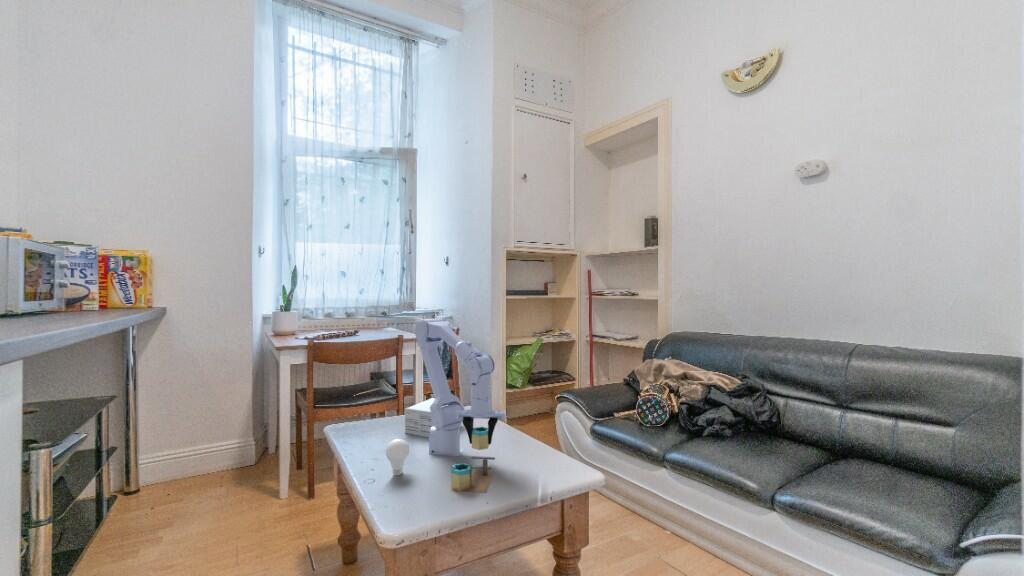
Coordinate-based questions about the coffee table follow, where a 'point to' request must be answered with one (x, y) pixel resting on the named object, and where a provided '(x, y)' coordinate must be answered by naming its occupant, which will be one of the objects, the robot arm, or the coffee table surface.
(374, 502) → the coffee table surface
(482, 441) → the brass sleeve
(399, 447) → the lightbulb
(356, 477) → the coffee table surface
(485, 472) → the pin board
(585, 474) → the coffee table surface
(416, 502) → the coffee table surface
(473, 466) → the tray
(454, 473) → the seated sleeve
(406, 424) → the supplement box
